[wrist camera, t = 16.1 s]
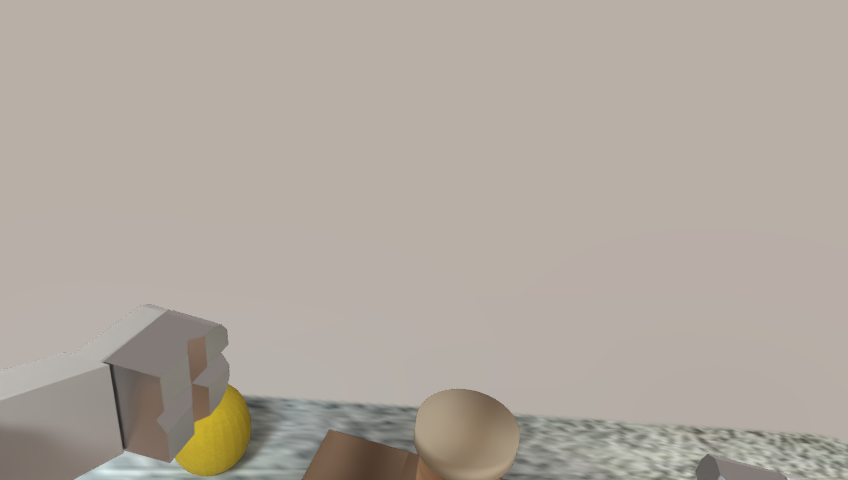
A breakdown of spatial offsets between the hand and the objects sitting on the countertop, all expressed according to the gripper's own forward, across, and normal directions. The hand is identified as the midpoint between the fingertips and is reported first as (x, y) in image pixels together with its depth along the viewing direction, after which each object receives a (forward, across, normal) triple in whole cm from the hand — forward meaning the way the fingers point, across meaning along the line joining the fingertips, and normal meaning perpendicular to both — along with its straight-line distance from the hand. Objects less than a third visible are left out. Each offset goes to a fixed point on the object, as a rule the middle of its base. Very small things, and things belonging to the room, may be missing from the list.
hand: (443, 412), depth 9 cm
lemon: (+19, +18, +29) cm, 39 cm away
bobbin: (+16, 0, +29) cm, 33 cm away
